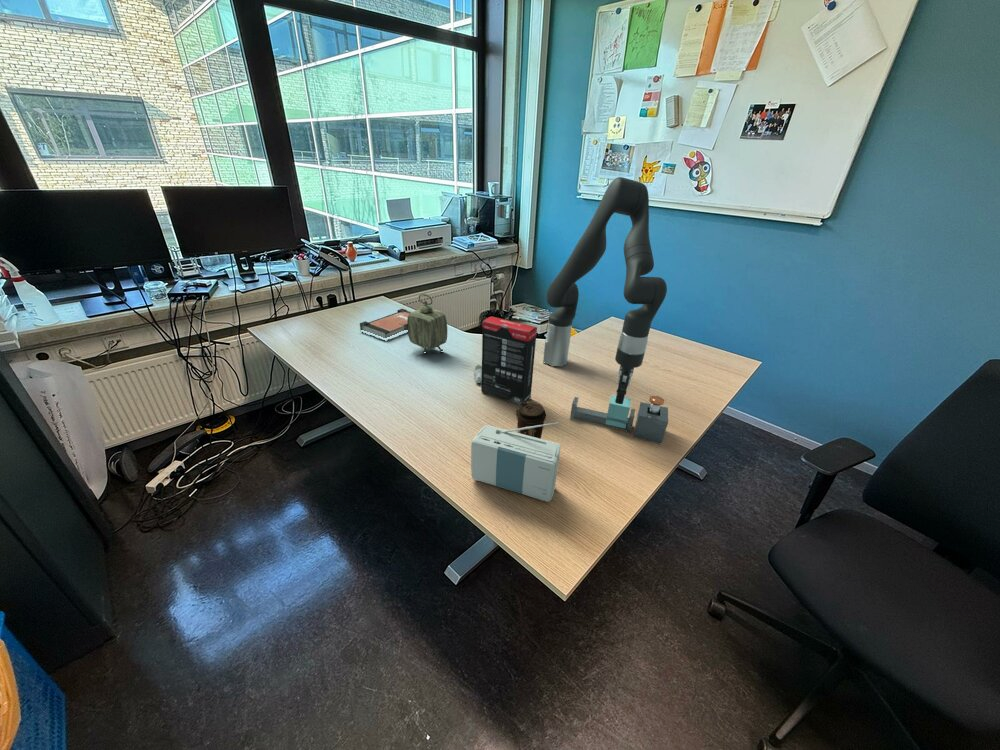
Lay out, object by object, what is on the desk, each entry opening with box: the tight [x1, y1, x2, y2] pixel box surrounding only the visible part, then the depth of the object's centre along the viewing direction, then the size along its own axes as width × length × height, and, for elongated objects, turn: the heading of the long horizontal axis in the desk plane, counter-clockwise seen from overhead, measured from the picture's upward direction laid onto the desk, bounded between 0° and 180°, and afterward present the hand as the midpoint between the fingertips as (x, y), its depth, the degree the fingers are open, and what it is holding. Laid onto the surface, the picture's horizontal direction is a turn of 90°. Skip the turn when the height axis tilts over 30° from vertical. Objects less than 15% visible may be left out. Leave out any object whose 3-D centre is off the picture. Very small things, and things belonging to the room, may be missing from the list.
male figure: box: [473, 359, 482, 384], centre depth 152 cm, size 11×10×25 cm
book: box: [359, 308, 412, 338], centre depth 186 cm, size 26×18×5 cm
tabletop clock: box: [407, 293, 448, 353], centre depth 160 cm, size 14×9×25 cm, turn 58°
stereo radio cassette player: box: [470, 421, 562, 503], centre depth 96 cm, size 21×8×20 cm, turn 69°
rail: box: [569, 396, 636, 434], centre depth 124 cm, size 19×4×6 cm, turn 70°
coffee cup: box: [515, 401, 547, 439], centre depth 111 cm, size 9×8×13 cm
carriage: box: [605, 394, 632, 428], centre depth 122 cm, size 6×5×8 cm
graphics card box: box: [480, 316, 538, 406], centre depth 131 cm, size 17×7×27 cm, turn 61°
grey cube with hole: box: [633, 401, 669, 444], centre depth 119 cm, size 8×8×8 cm
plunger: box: [648, 395, 665, 415], centre depth 117 cm, size 4×4×7 cm
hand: (620, 395), depth 119 cm, fingers open, 8 cm apart
